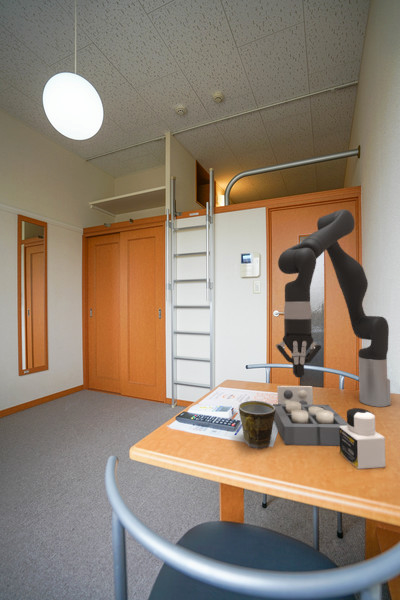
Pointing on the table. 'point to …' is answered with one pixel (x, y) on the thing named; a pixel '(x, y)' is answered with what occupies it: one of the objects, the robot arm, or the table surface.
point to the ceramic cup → (257, 423)
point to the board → (308, 428)
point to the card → (295, 394)
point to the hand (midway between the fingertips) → (298, 376)
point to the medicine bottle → (362, 440)
